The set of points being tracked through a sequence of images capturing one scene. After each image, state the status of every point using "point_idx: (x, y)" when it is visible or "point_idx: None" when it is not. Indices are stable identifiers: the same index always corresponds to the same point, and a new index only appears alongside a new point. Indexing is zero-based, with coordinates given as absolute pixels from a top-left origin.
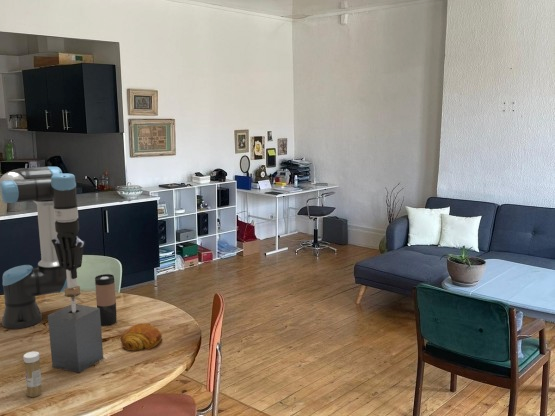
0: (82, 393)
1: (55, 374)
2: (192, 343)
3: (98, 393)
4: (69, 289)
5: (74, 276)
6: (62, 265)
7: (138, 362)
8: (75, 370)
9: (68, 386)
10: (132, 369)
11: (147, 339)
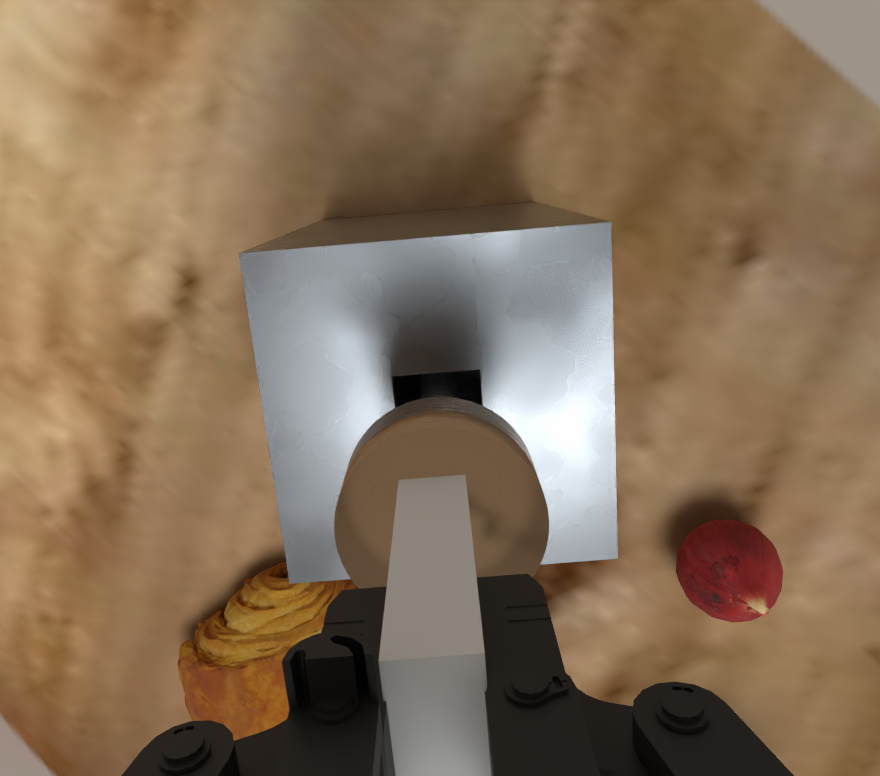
0: (101, 46)
1: (438, 141)
2: (64, 761)
3: (23, 93)
4: (418, 464)
5: (324, 626)
6: (631, 725)
7: (135, 474)
8: (349, 218)
9: (244, 68)
10: (96, 398)
11: (208, 653)
